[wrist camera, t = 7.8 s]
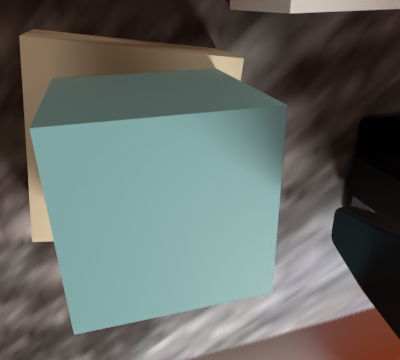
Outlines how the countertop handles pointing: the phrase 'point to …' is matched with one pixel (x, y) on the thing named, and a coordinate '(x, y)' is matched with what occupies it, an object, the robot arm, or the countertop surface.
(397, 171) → the robot arm
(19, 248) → the countertop surface
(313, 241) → the countertop surface
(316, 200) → the countertop surface
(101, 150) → the teal cube
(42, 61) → the maple block
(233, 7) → the offwhite cube
